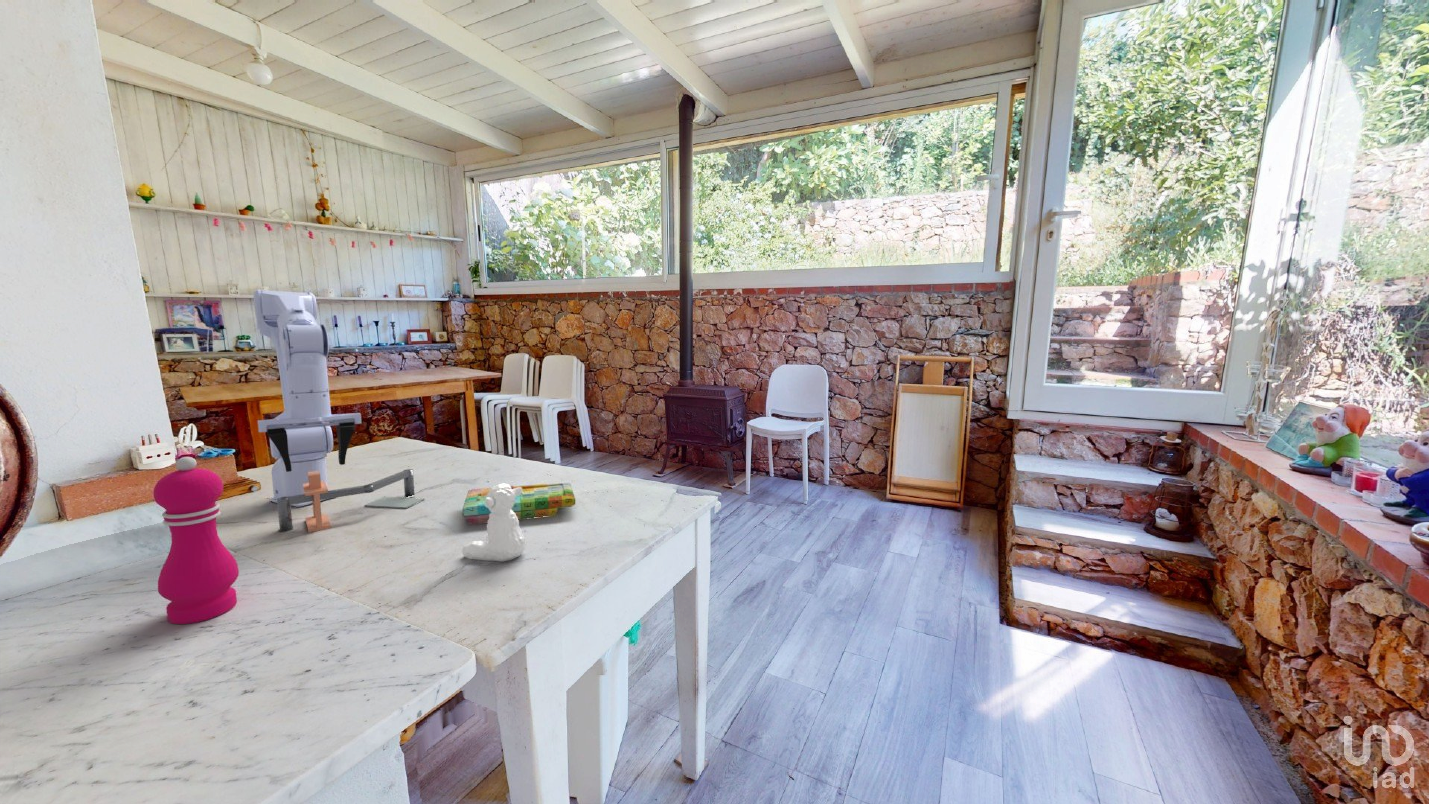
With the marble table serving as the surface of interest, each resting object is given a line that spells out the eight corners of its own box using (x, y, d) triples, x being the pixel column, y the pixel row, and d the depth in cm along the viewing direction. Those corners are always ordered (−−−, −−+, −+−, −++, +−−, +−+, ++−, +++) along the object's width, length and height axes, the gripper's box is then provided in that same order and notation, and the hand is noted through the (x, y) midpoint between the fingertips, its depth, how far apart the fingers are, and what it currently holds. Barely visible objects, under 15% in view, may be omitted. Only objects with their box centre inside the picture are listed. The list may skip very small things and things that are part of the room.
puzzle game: (468, 486, 105) (569, 478, 112) (469, 508, 105) (570, 499, 112) (462, 504, 94) (575, 494, 101) (463, 529, 95) (575, 517, 102)
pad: (406, 508, 104) (406, 507, 104) (364, 506, 104) (364, 505, 104) (424, 499, 109) (424, 498, 109) (384, 497, 110) (384, 496, 110)
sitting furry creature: (513, 538, 90) (511, 471, 89) (544, 551, 85) (542, 481, 84) (460, 557, 82) (457, 484, 81) (491, 572, 78) (488, 495, 76)
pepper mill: (171, 634, 60) (150, 467, 58) (154, 615, 64) (134, 458, 62) (251, 607, 66) (235, 455, 64) (231, 591, 70) (215, 447, 68)
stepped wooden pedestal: (308, 532, 91) (303, 479, 90) (305, 520, 96) (301, 470, 95) (330, 528, 93) (326, 476, 92) (327, 516, 98) (323, 467, 97)
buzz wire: (277, 530, 91) (274, 499, 90) (400, 492, 113) (398, 467, 113) (306, 537, 89) (303, 504, 88) (426, 497, 111) (425, 471, 110)
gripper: (255, 395, 84) (263, 477, 86) (361, 390, 94) (367, 463, 95) (254, 394, 90) (262, 471, 91) (355, 389, 99) (361, 459, 100)
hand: (316, 467), depth 93 cm, fingers open, 7 cm apart
